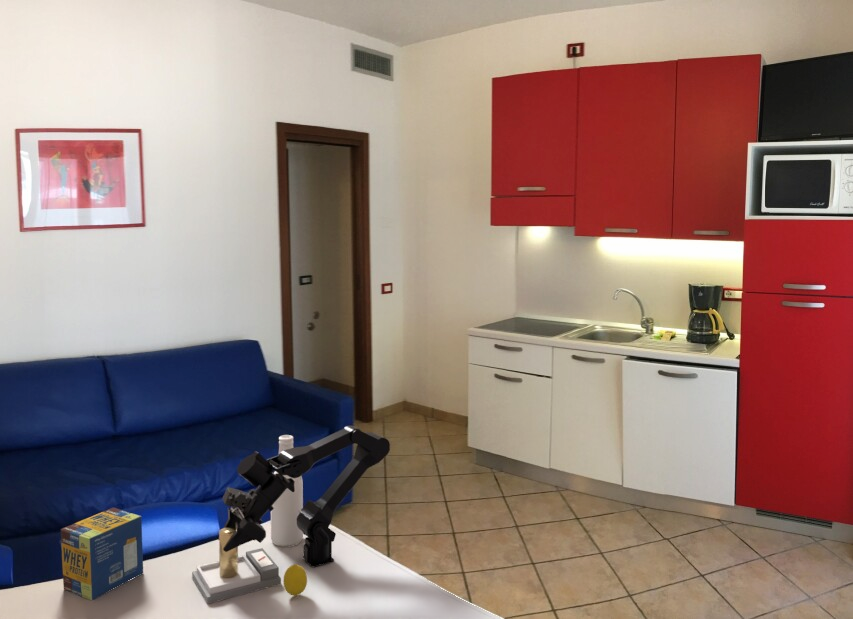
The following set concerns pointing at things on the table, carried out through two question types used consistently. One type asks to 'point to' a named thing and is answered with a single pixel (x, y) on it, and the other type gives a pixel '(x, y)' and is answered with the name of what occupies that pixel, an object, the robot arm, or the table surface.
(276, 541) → the alcohol
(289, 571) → the lemon
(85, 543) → the protein box
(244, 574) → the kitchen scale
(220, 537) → the cylinder
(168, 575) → the table surface
